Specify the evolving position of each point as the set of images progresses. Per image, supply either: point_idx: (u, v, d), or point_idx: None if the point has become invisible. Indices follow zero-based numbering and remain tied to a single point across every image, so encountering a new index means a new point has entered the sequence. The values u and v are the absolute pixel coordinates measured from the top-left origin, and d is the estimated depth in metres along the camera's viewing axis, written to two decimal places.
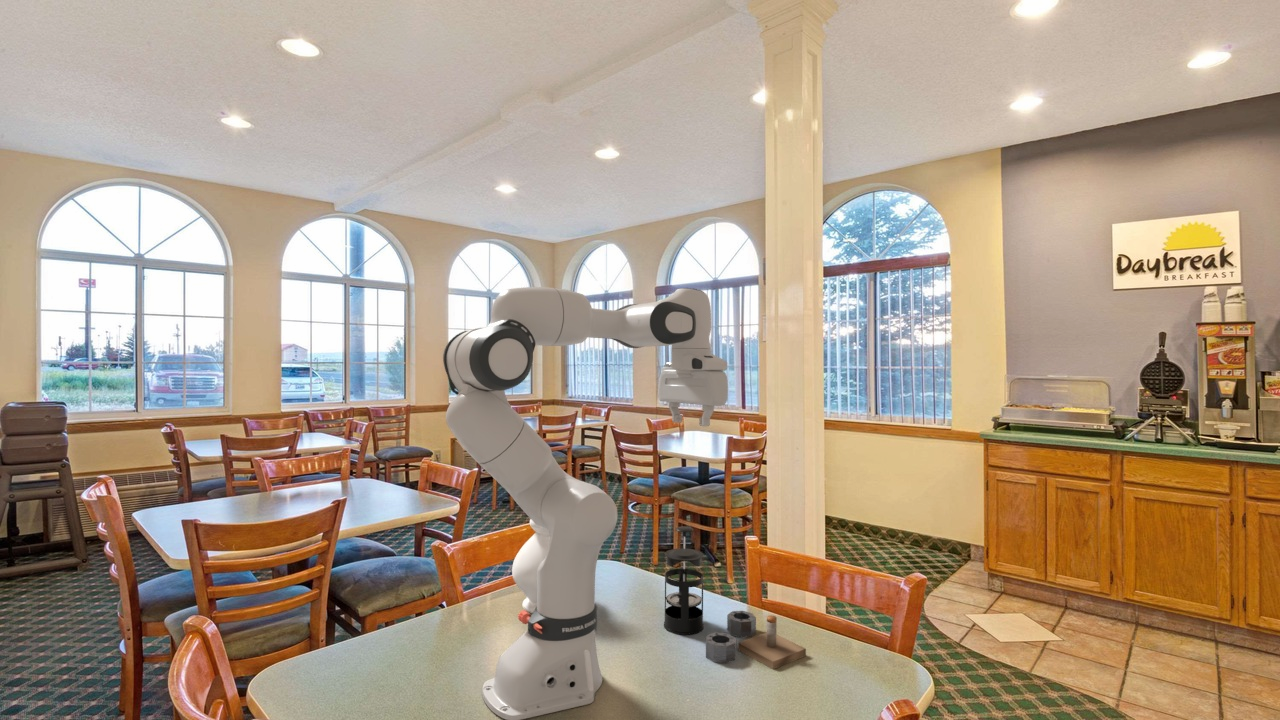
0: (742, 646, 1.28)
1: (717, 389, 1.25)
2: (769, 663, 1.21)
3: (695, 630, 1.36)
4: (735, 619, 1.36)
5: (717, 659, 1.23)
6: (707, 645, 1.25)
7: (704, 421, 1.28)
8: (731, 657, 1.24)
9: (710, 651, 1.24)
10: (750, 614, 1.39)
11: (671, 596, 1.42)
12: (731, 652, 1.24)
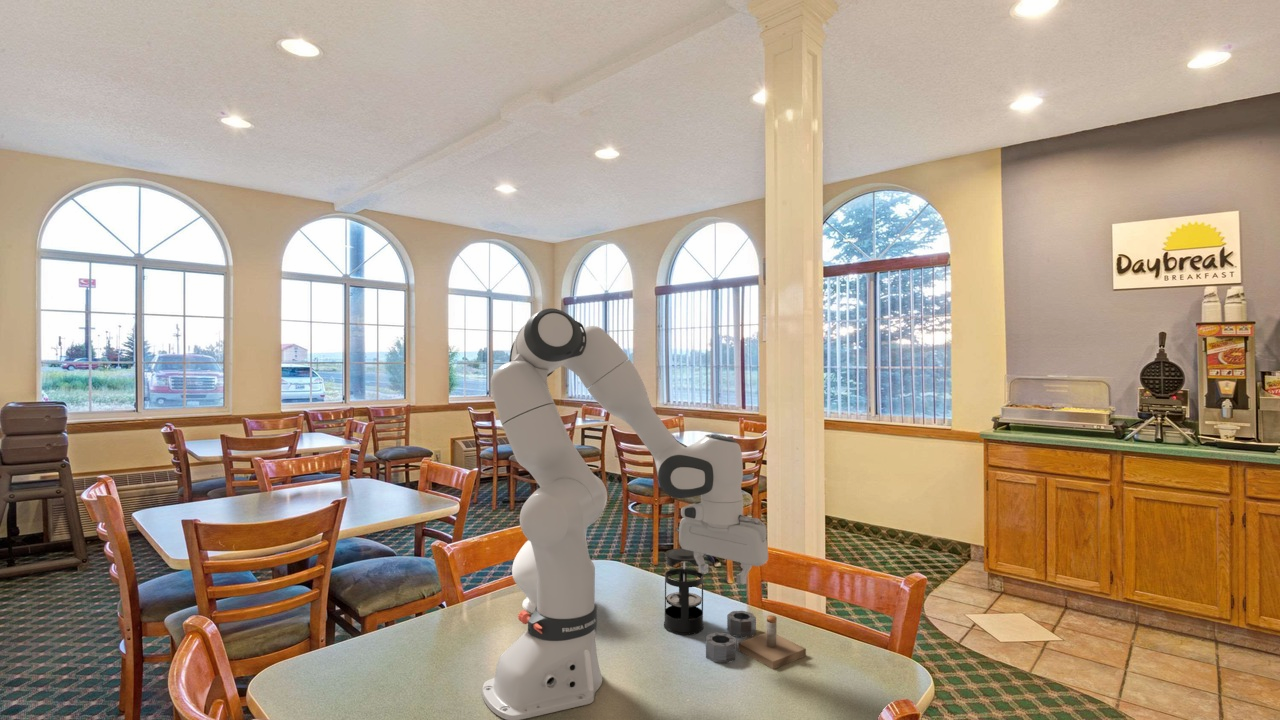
0: (742, 646, 1.28)
1: None
2: (769, 663, 1.21)
3: (695, 630, 1.36)
4: (735, 619, 1.36)
5: (717, 659, 1.23)
6: (707, 645, 1.25)
7: None
8: (731, 657, 1.24)
9: (710, 651, 1.24)
10: (750, 614, 1.39)
11: (671, 596, 1.42)
12: (731, 652, 1.24)
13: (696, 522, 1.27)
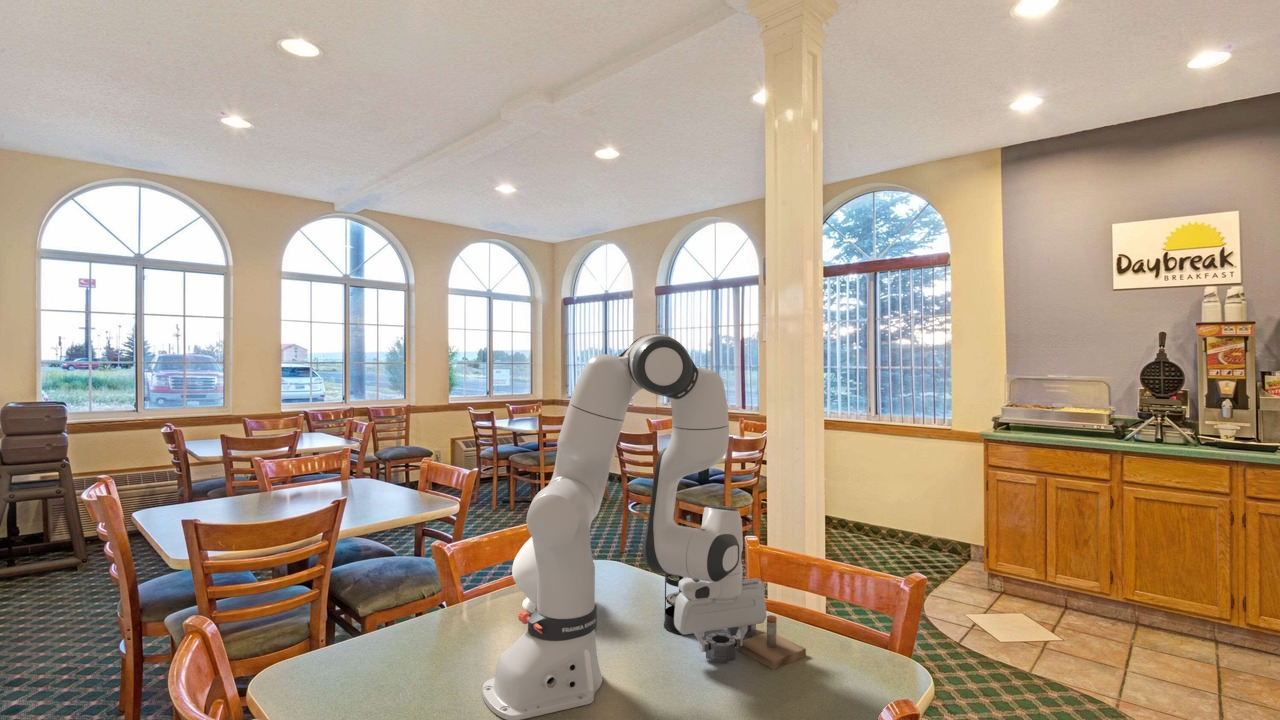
0: (742, 646, 1.28)
1: (675, 612, 1.24)
2: (769, 663, 1.21)
3: None
4: None
5: (717, 659, 1.23)
6: None
7: (699, 644, 1.25)
8: (731, 657, 1.24)
9: (710, 651, 1.24)
10: None
11: (671, 596, 1.42)
12: (731, 652, 1.24)
13: (707, 601, 1.22)
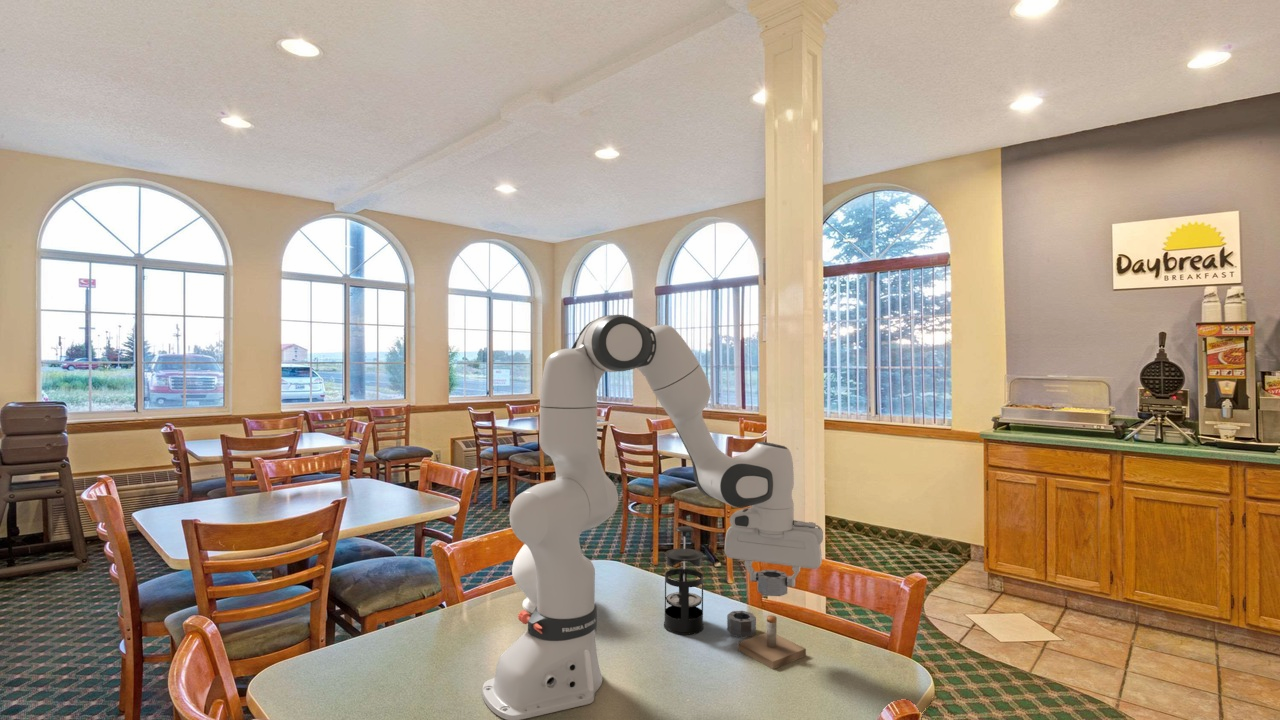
0: (742, 646, 1.28)
1: None
2: (769, 663, 1.21)
3: (695, 630, 1.36)
4: (735, 619, 1.36)
5: (761, 590, 1.26)
6: (757, 576, 1.29)
7: None
8: (774, 592, 1.25)
9: None
10: (750, 614, 1.39)
11: (671, 596, 1.42)
12: (775, 586, 1.25)
13: (748, 530, 1.27)
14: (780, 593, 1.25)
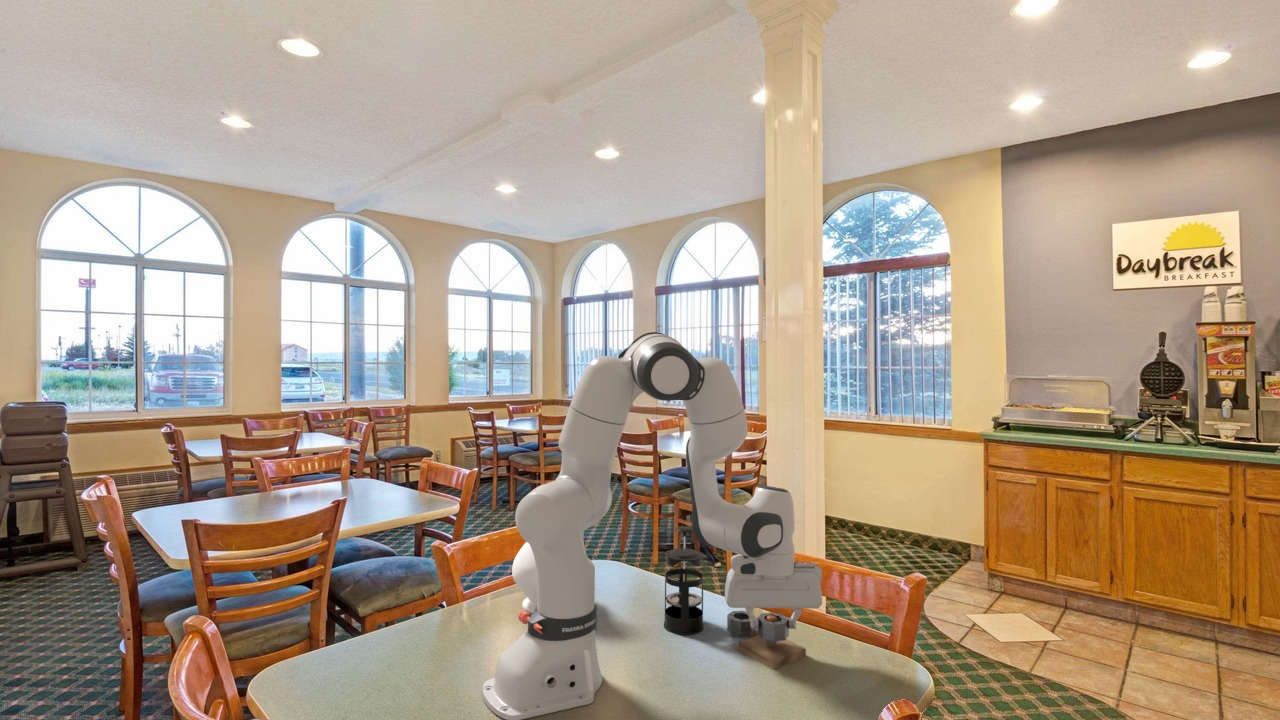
0: (742, 646, 1.28)
1: (725, 586, 1.29)
2: (769, 663, 1.21)
3: (695, 630, 1.36)
4: (735, 619, 1.36)
5: (766, 636, 1.25)
6: None
7: (750, 620, 1.28)
8: (780, 637, 1.25)
9: (760, 628, 1.26)
10: None
11: (671, 596, 1.42)
12: (780, 631, 1.25)
13: (753, 577, 1.25)
14: (785, 637, 1.25)
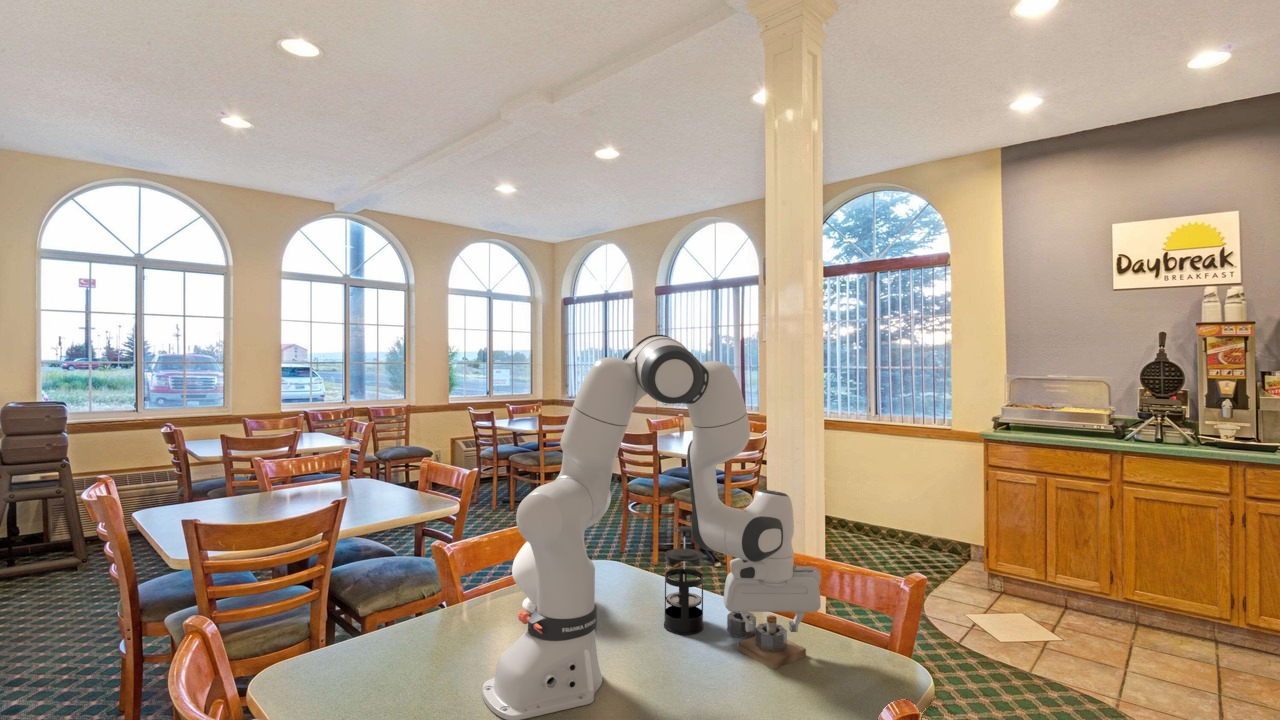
0: (742, 646, 1.28)
1: (724, 590, 1.29)
2: (769, 663, 1.21)
3: (695, 630, 1.36)
4: (735, 619, 1.36)
5: (764, 647, 1.25)
6: (756, 633, 1.27)
7: (745, 624, 1.28)
8: (779, 648, 1.25)
9: (758, 639, 1.27)
10: (750, 614, 1.39)
11: (671, 596, 1.42)
12: (779, 642, 1.25)
13: (753, 581, 1.25)
14: (783, 648, 1.25)
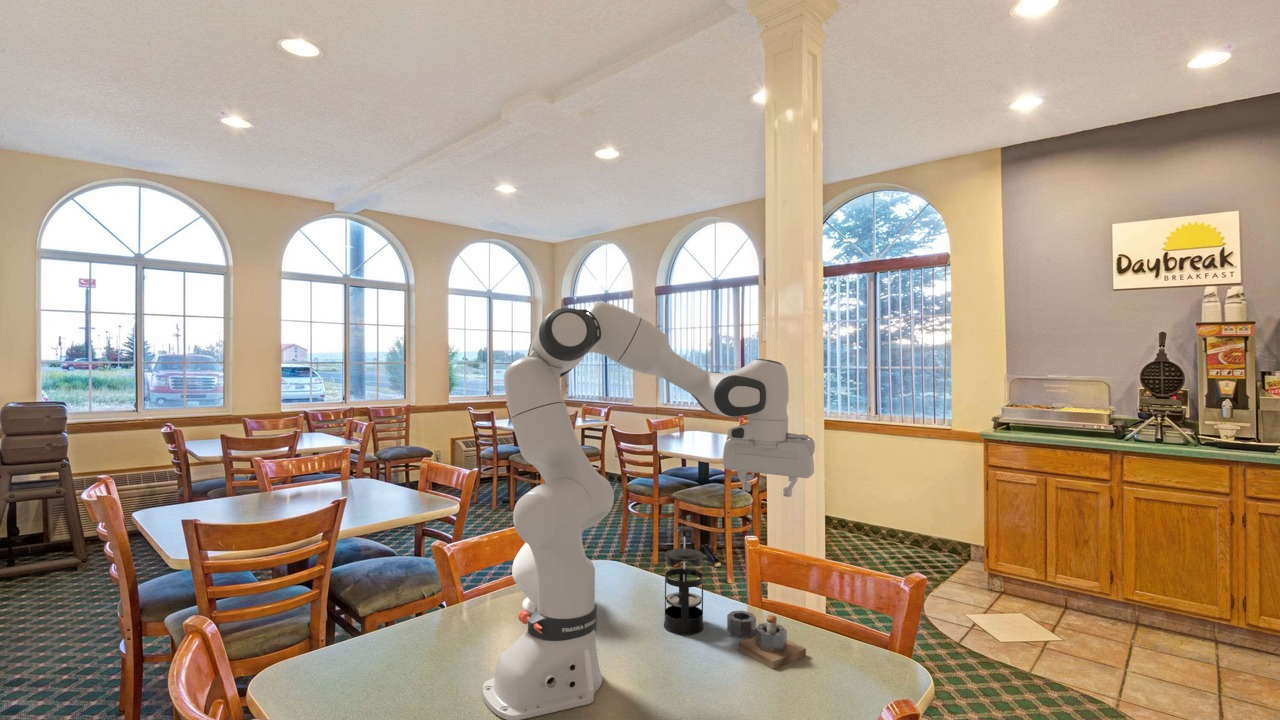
0: (742, 646, 1.28)
1: None
2: (769, 663, 1.21)
3: (695, 630, 1.36)
4: (735, 619, 1.36)
5: (764, 647, 1.25)
6: (756, 633, 1.27)
7: None
8: (779, 648, 1.25)
9: (758, 639, 1.27)
10: (750, 614, 1.39)
11: (671, 596, 1.42)
12: (779, 642, 1.25)
13: (743, 442, 1.34)
14: (783, 648, 1.25)
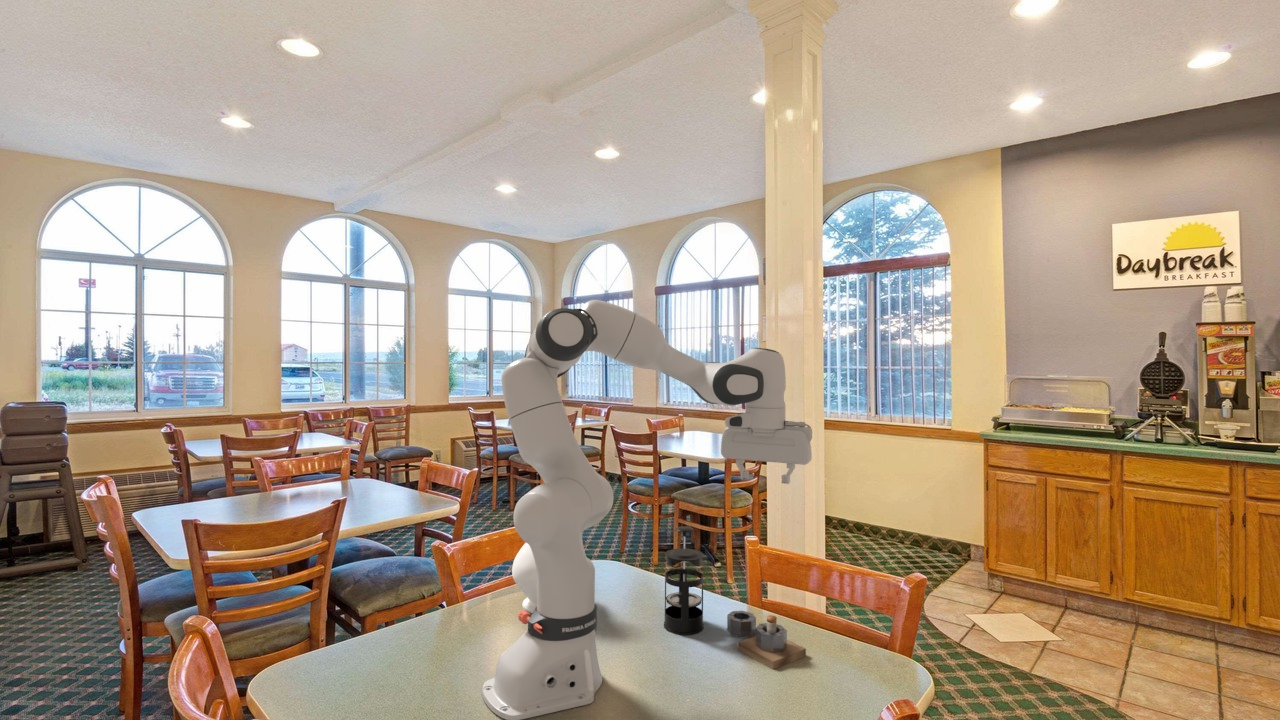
0: (742, 646, 1.28)
1: None
2: (769, 663, 1.21)
3: (695, 630, 1.36)
4: (735, 619, 1.36)
5: (764, 647, 1.25)
6: (756, 633, 1.27)
7: None
8: (779, 648, 1.25)
9: (758, 639, 1.27)
10: (750, 614, 1.39)
11: (671, 596, 1.42)
12: (779, 642, 1.25)
13: (741, 430, 1.35)
14: (783, 648, 1.25)
